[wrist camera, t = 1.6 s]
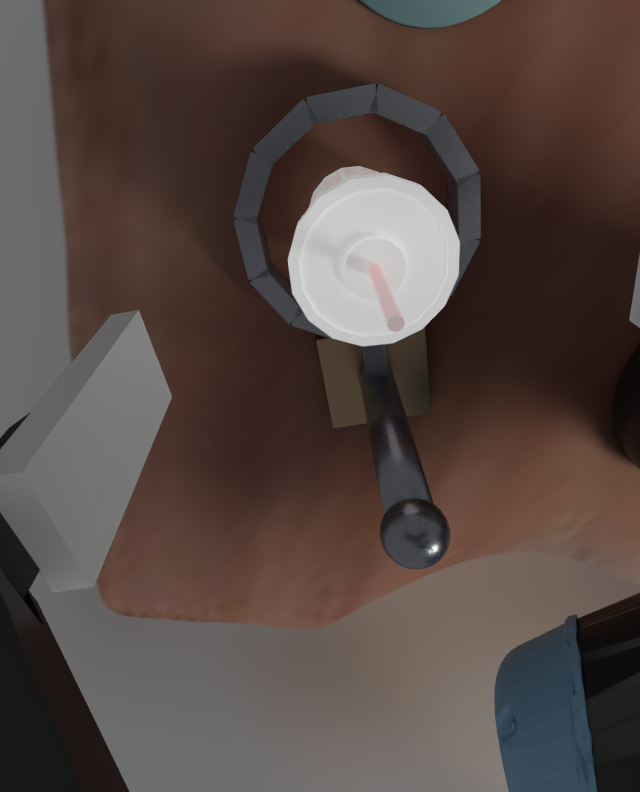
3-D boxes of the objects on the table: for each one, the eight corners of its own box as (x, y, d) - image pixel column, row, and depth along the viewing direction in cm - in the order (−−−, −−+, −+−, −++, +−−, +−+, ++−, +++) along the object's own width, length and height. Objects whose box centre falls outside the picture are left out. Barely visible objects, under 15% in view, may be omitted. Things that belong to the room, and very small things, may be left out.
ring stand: (468, 398, 31) (572, 594, 19) (293, 425, 32) (286, 631, 20) (459, 65, 23) (643, 34, 10) (218, 114, 23) (120, 139, 11)
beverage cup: (313, 288, 28) (320, 440, 16) (275, 172, 25) (248, 249, 13) (424, 254, 27) (521, 387, 15) (399, 129, 24) (495, 168, 12)
